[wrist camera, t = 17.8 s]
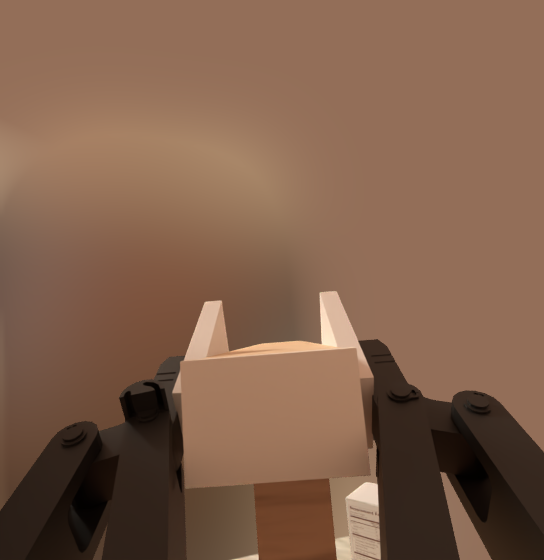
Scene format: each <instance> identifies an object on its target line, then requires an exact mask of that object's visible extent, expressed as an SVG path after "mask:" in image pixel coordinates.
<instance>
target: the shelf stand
mask: <svg viewBox="0 0 544 560" xmlns="http://www.w3.org/2000/svg"><path fill="white" fill-rule="evenodd" d="M373 440H374V437H373ZM254 494H255V509H256V524H257V539H258V554H259V560H337V557H336V547H335V537H334V526H333V516H332V505H331V495H330V485H329V478H326V479H312V480H298V481H284V482H270V483H257V484H254Z"/></svg>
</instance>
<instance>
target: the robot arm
mask: <svg viewBox="0 0 544 560" xmlns="http://www.w3.org/2000/svg"><path fill="white" fill-rule="evenodd" d="M320 309H321V331H322V333H321V334H322V345H328V346H334V347H340V348H345V347H354V348H357V357H358V366H359V375H360V384H361V393H362V402H363V411H364V420H365V429H366V438H367V447H368V449H371V448H373V437H374V440H375V443H376V446H377V454H376V456H377V457H376V477H377V482H378V506H379V529H380V552H381V560H460V558H459V554H458V550H457V545H456V541H455V536H454V532H453V527H452V523H451V518H450V514H449V509H448V505H447V500H446V496H445V492H444V487H443V483H442V478H441V474H440V472H445V473H446V474H447V476H448V479H449V480H450V482H451V484H452V486H453V488H454V490H455V492H456V493H457V495H458V497H459V499H460V501H461V503H462V505H463V506H464V508H465V510H466V512H467V514H468V516H469V517H470V519H471V521H472V523H473V525H474V527H475V529H476V531H477V532H478V534H479V536H480V538H481V540H482V542H483V544H484V545H485V547H486V549H487V551H488V553H489V555H490V557H491V558H492V560H544V452H543V451H542V450H541V449H540V447H539V446H538V445H537V444H536V443H535V442H534V441H533V440H532V438H531V437H530V436H529V435H528V434H527V433H526V432H525V430H524V429H523V428H522V427H521V426H520V425H519V424H518V423H517V421H516V420H515V419H514V418H513V417H512V416H511V415H510V413H509V412H508V411H507V410H506V409H505V408H504V407H503V405H502V404H501V403H500V402H498V401H497V400H496V399H495V398H494V397H491V396H489V395H487V394H485V393H481V392H477V391H462V392H459V393H457V394H456V395H454V396H453V400H452V403H450V402H443V401H436V400H431V399H428V398H425V397H423V395H422V394H421V391H420V390H418V389H417V388H416V387H415V386H412V385H409V384H408V383H407V381H406V380H405V378H404V376H403V374H402V373H401V371H400V369H399V367H398V365H397V364H396V362H395V360H394V358H393V356H391V353H390V351H389V349H388V347H387V346H386V345H385V344H383V343H382V342H380V341H379V340H378V339H376V340H365V341H358V340H357V337H356V335H355V333H354V331H353V328H352V326H351V324H350V321H349V319H348V317H347V315H346V312H345V310H344V308H343V305H342V303H341V301H340V298H339V296H338V294H337V292H336V291H331V292H320ZM223 315H224V314H223V308H222V301H210V302H205V304H204V306H203V309H202V312H201V315H200V317H199V320H198V323H197V326H196V328H195V331H194V334H193V337H192V339H191V342H190V345H189V348H188V350H187V353H186V356H176V357H169V358H168V359H167V360H165V361H164V362H163V363H162V364H161V365H160V367H159V369H158V372H157V375H156V376H155V378H154V380H152V379H151V380H143V381H139V382H136V383H134V384H132V385H130V386H129V387H127V388H126V389H125V390H124V391H123V392H122V393H121V395H120V397H119V399H120V402H121V406H122V409H123V413H124V416H125V423H123V424H120V425H118V426H115V427H112V428H108V429H105V430H102V431H98V428H97V425H96V424H94V423H92V422H87V421H84V422H78V423H74V424H72V425H69V426H67V427H65V428H64V429H62V430H61V431H59V432H58V433H57V434H56V435H55V436H54V437H53V438H52V439H51V441H50V442H49V444H48V445H47V446H46V448H45V449H44V451H43V452H42V453H41V455H40V456H39V458H38V459H37V460H36V462H35V463H34V465H33V466H32V467H31V469H30V470H29V472H28V473H27V474H26V476H25V477H24V478H23V480H22V481H21V483H20V484H19V485H18V487H17V488H16V490H15V491H14V493H13V494H12V496H11V497H10V498H9V499H8V501H7V502H6V504H5V505H4V506H3V508H2V509H1V511H0V560H92V559H93V557H94V554H95V552H96V550H97V548H98V545H99V543H100V540H101V538H102V536H103V533H104V531H105V528H106V526H107V524H108V526H107V532H106V537H105V543H104V549H103V556H102V560H187V558H186V528H185V497H184V472H183V468H182V463H181V461H182V456H183V453H184V448H183V423H182V398H181V373H180V362H181V361H185V360H193V359H202V358H206V357H210V356H214V355H218V354H222V353H226V352H229V349H228V342H227V335H226V328H225V322H224V316H223Z"/></svg>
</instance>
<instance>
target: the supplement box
mask: <svg viewBox="0 0 544 560" xmlns="http://www.w3.org/2000/svg"><path fill="white" fill-rule="evenodd" d="M345 499H346V508H347V517H348V527H349V537H350V546H351V556H352V560H381V552H380V529H379V506H378V484H374V483H369V482H365V483H364V484H363V485H361V486H360V487H359V488H358V489H356V490H355V491H354V492H352V493H351V494H350V495H348V496H347V497H346V498H345Z"/></svg>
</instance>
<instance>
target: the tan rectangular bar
mask: <svg viewBox="0 0 544 560" xmlns="http://www.w3.org/2000/svg"><path fill="white" fill-rule="evenodd" d="M180 373H181V398H182V423H183V448H184V472H185V489H187V488H200V487H214V486H229V485H242V484H257V483H270V482H284V481H298V480H312V479H326V478H339V477H354V476H366V475H367V476H368V475H370V466H369V456H368V447H367V438H366V429H365V420H364V411H363V402H362V393H361V384H360V375H359V366H358V357H357V348H354V347H345V348H340V347H334V346H328V345H322V344H316V343H310V342H304V341H291V342H278V343H266V344H258V345H255V346H250V347H247V348H242V349H238V350H234V351H230V352H226V353H222V354H218V355H214V356H210V357H206V358H202V359H193V360H185V361H181V362H180Z"/></svg>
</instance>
